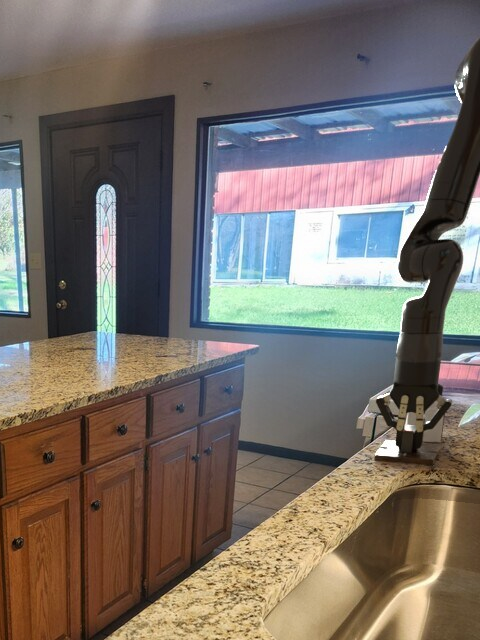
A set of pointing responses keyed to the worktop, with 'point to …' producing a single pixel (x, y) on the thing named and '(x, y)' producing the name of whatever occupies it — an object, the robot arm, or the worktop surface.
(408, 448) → the dark grey upright block
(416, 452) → the panel
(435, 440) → the medicine bottle
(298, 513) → the worktop surface
